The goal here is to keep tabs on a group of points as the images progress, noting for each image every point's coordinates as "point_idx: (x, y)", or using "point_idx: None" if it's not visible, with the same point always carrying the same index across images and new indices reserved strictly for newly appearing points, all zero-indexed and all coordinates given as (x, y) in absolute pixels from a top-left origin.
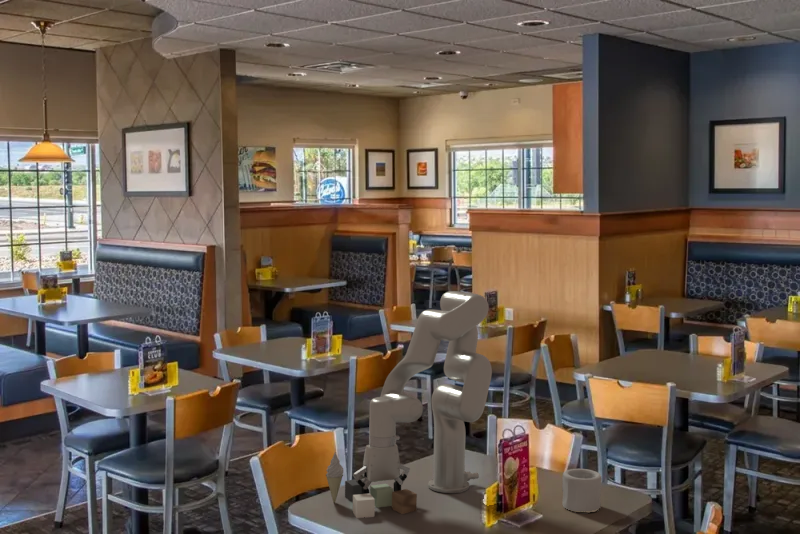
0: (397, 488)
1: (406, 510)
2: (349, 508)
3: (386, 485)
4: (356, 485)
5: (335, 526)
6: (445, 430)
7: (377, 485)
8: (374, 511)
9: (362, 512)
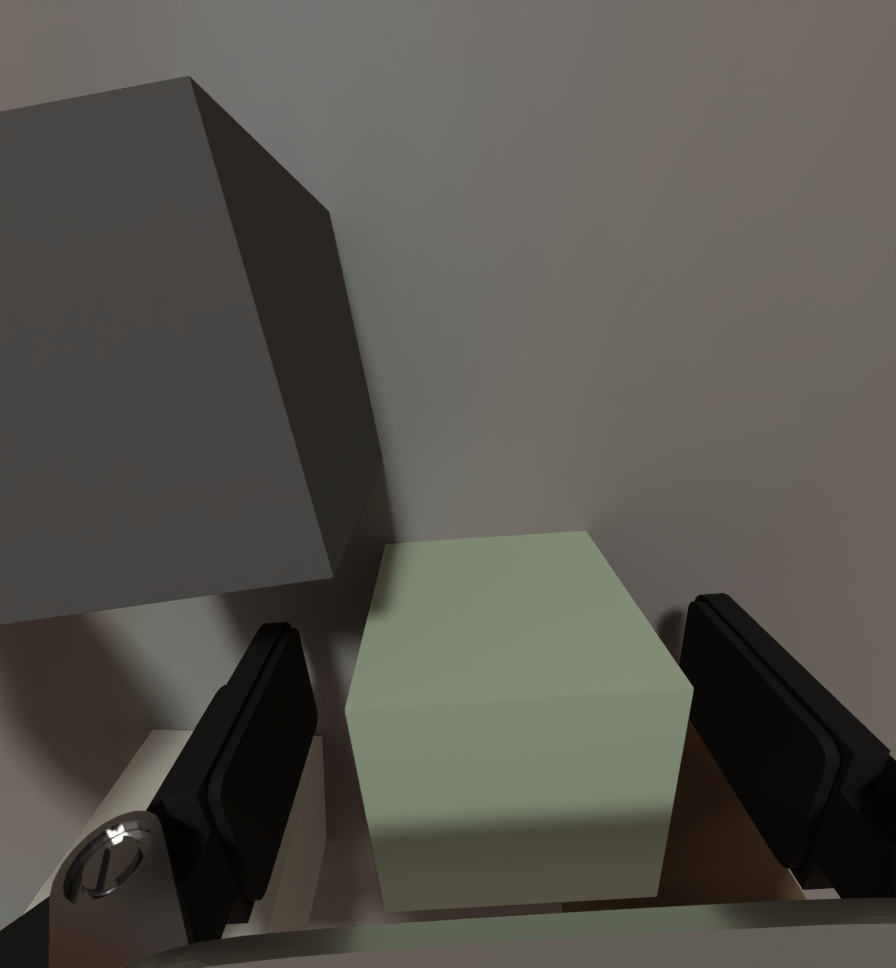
0: (755, 814)
1: None
2: (126, 648)
3: (642, 767)
4: (55, 612)
5: (3, 912)
6: None
7: (483, 737)
8: (314, 894)
9: None
